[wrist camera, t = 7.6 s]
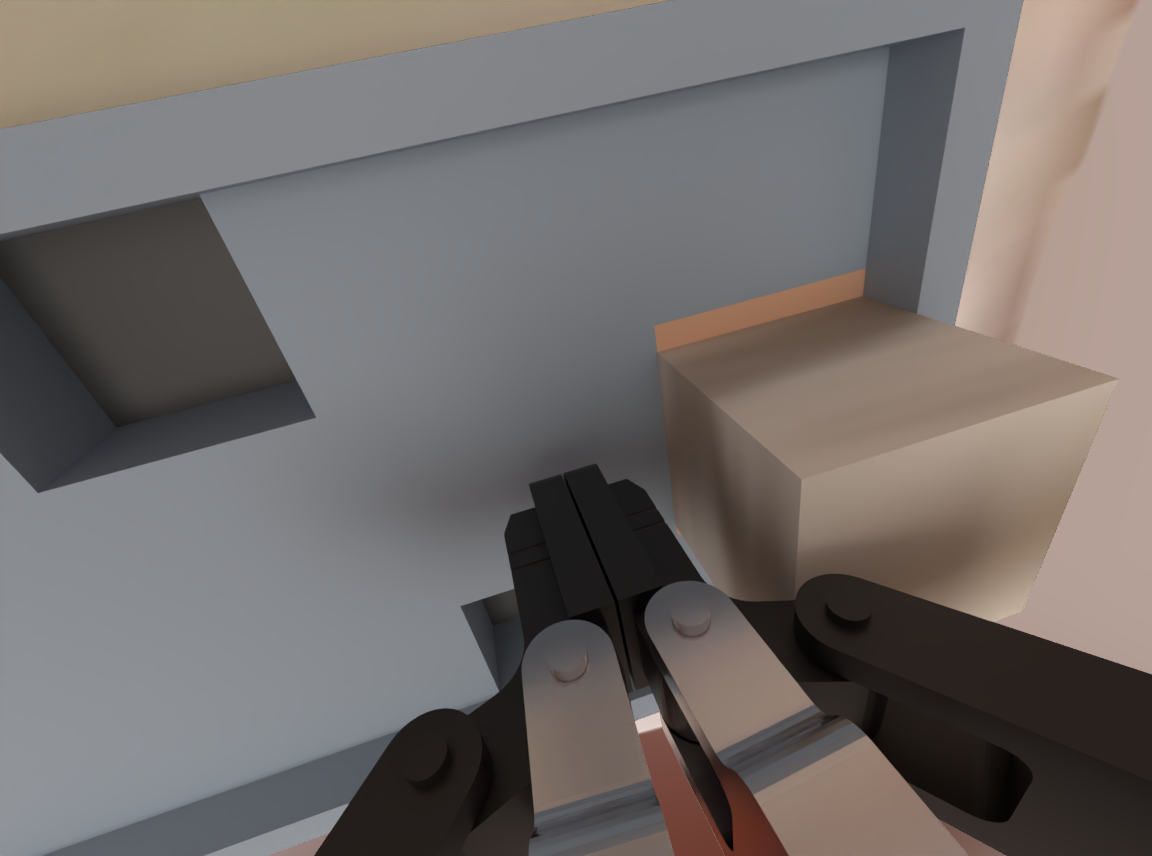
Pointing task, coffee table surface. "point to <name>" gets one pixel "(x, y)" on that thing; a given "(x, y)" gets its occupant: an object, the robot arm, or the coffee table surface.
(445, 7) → the coffee table surface
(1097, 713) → the robot arm
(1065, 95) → the coffee table surface
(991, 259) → the coffee table surface
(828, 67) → the track
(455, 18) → the coffee table surface
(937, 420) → the cream cube
